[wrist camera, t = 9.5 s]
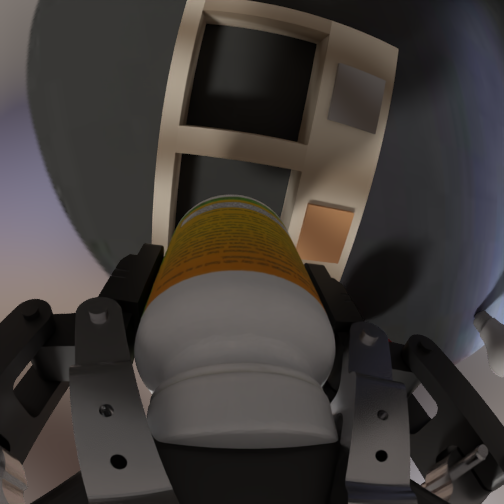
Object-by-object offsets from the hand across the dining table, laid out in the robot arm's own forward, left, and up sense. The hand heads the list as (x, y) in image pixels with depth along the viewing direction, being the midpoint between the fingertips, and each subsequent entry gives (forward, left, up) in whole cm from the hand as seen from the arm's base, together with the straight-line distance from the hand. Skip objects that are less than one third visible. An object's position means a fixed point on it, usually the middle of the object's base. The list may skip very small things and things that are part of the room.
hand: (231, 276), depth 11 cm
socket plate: (-4, +2, -8) cm, 10 cm away
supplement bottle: (0, 0, -3) cm, 3 cm away
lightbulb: (+8, +34, -9) cm, 36 cm away
